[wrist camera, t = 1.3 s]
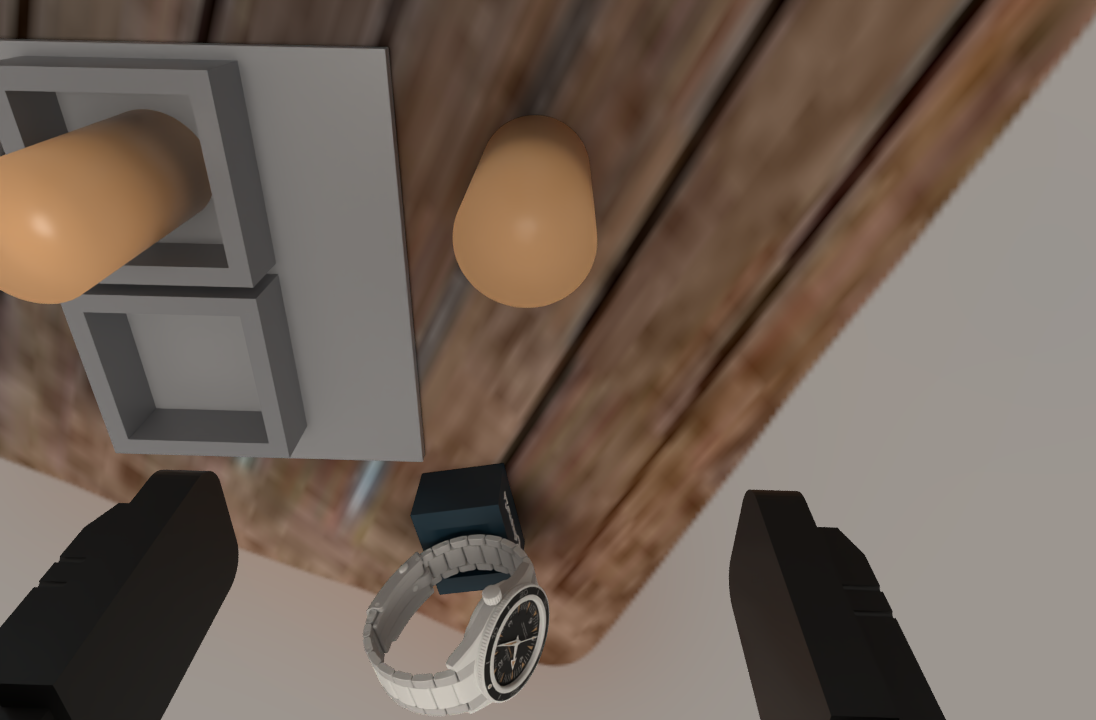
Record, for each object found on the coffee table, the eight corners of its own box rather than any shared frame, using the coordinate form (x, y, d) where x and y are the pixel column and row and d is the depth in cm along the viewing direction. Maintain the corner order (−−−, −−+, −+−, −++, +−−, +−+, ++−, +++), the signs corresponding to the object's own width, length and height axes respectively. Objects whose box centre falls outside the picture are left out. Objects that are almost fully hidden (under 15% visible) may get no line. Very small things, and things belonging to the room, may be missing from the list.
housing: (-12, 38, 26) (-242, 72, 19) (388, 47, 26) (316, 84, 18) (132, 445, 36) (17, 575, 28) (425, 454, 35) (386, 587, 28)
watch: (559, 537, 38) (557, 730, 29) (418, 553, 39) (369, 746, 30) (540, 456, 35) (531, 641, 26) (388, 476, 36) (325, 661, 27)
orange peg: (479, 113, 27) (448, 168, 20) (592, 116, 27) (601, 171, 20) (482, 222, 29) (456, 305, 22) (587, 225, 29) (593, 309, 22)
